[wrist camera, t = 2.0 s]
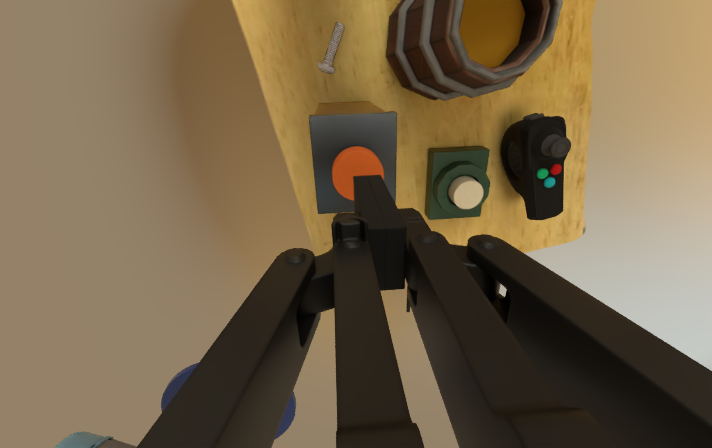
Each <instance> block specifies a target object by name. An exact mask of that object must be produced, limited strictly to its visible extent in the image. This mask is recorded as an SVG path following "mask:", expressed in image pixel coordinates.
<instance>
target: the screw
mask: <svg viewBox="0 0 712 448" xmlns="http://www.w3.org/2000/svg"><path fill="white" fill-rule="evenodd" d="M335 26H336V27H335V28H334V30H333V31H334V32H333V35H332V37H331V38H332V39H331V40H330V41H331V42H330V44H329V45H328V46H329V47H328V50H327V53H326V55H325V56H326V57H325V58H324V59H325V60H324V61H323V63H321V62H318V64H317V66H318V68H319V69H320V70H321V71H325V72H326V73H328V74H333V73H334V71H335V69H334V68H332V67H331V66H332V63H333V62H332V61H333V59H334V58H335V57H334V56H335V55H336V54H335V53H336V50H337V48H338V45H339V44H338V43H339V42H340V40H341V39H340V38H341V37H342V36H341V35H342V33H343V30H344V28H345V27H344V25H343V24H341V23H339V22H337V23H336V25H335Z"/></svg>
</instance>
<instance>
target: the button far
mask: <svg viewBox="0 0 712 448" xmlns="http://www.w3.org/2000/svg"><path fill="white" fill-rule="evenodd" d="M448 195H449V198H450V199H451V200H452V201H453V202H454V203H455V204H456V205H457V206H458V207H459V208H461V209H471V208H473V207H475V206H476V205H478V204H479V203H480V201H481V200H482V198H483V188H482V186H481V184H480V183H478V182H477V181H476V180H474V179H473V178H471V177H469V176H461V177H458V178H456V179H455V180H454V181H453V182H452V183H451V184H450V186H449V189H448Z"/></svg>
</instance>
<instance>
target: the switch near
mask: <svg viewBox="0 0 712 448" xmlns="http://www.w3.org/2000/svg"><path fill="white" fill-rule="evenodd" d="M309 124H310V134H311V145H312V156H313V166H314V177H315V187H316V198H317V209H318V214H325V213H341V212H355V210H354V200H350V199H347V198H345V197H343V196H342V195H341V194H340V193H339V192H338V191H337V190H336V188H335V186H334V184H333V179H332V166H333V163H334V160H335V159H336V157H337V156H338V154H340V153H341V152H342V151H343V150H345V149H347V148H349V147H354V146H360V147H365V148H367V149H369V150H371V151H372V152H373V153H374V154H375V155H376V156H377V157H378V159H379V161H380V162H381V164H382V167H383V171H384V179H383V181H384V183H385V184H386V186H387V188H388V190H389V192H390V194H391V196H392V198H393V200H394V202H395V203H396V148H397V113H396V112H394V111H391V112H385V111H383V110H382V109H380V108H379V107H377V106H376V105H374V104H372V103H371V102H369V101H364V102H341V103H319V104H318V107H317V110H316V112H315V115H310V116H309Z"/></svg>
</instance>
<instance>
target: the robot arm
mask: <svg viewBox="0 0 712 448" xmlns="http://www.w3.org/2000/svg"><path fill="white" fill-rule="evenodd" d="M353 185H354V210H355V213H338V214H337V215H336V216H335V217H334V218H333V222H332V224H331V225H332V238H333V247H332V249H331V250H330V251H328V252H327V253H325V254H322V255H319V256H314V254H313V252H312V251H310V250H308V249H302V248H293V249H289V250H287V251H285V252H282V253H281V254H280V255H279V256H277V258H276V259H275V260H274V262H273V263H272V264H271V266H270V267H269V268H268V270H267V271H266V273H265V274H264V275H263V277H262V278H261V279H260V281H259V282H258V283H257V285H256V286H255V288H254V289H253V290H252V292H251V293H250V295H249V296H248V297H247V298H246V300H245V301H244V303H243V304H242V305H241V307H240V308H239V309H238V311H237V312H236V313H235V315H234V316H233V318H232V319H231V320H230V322H229V323H228V324H227V326H226V327H225V329H224V330H223V331H222V332H221V334H220V335H219V337H218V338H217V339H216V341H215V342H214V343H213V345H212V346H211V347H210V349H209V350H208V351H207V353H206V354H205V356H204V357H203V358H202V360H201V361H200V362H199V364H198V365H197V366H196V368H195V369H194V370H193V372H192V373H191V374H190V376H189V377H188V379H187V380H186V381H185V383H184V384H183V385H182V387H181V388H180V389H179V391H178V392H177V393H176V395H175V396H174V398H173V399H172V400H171V402H170V403H169V404H168V406H167V407H166V408H165V410H164V411H163V412H162V414H161V415H160V417H159V418H158V419H157V421H156V422H155V423H154V425H153V426H152V427H151V429H150V430H149V432H148V433H147V434H146V436H145V437H144V438H143V440H142V441H141V442H140V444H139V445H138V446H137V447H136V446H133V445H130V444H126V443H123V442H120V441H117V440H114V439H113V437H111V436H107V437H103V436H100V435H96V434H92V433H88V432H77V433H74V434H71V435H69V436H68V437H66V438H65V439H63V440H62V441H61V442H60V443H59V444H57V445H56V446H55V447H54V448H271V447H272V445H273V442H274V439H275V437H276V434H277V431H278V429H279V426H280V423H281V421H282V418H283V415H284V413H285V410H286V408H287V405H288V402H289V400H290V397H291V394H292V392H293V389H294V386H295V384H296V381H297V378H298V376H299V373H300V371H301V368H302V365H303V362H304V360H305V357H306V355H307V352H308V349H309V347H310V344H311V341H312V339H313V336H314V334H315V331H316V328H317V326H318V323H319V320H320V315H321V313H320V312H323V311H326V310H329V309H332V308H335V344H336V345H335V348H336V387H337V431H336V448H424V445H423V441H422V437H421V434H420V431H419V428H418V426H417V424H416V423H412V420H411V418H410V414H409V410H408V406H407V402H406V398H405V394H404V390H403V385H402V381H401V377H400V372H399V368H398V364H397V360H396V355H395V351H394V347H393V343H392V339H391V334H390V330H389V326H388V322H387V318H386V313H385V309H384V305H383V301H382V296H381V292H380V291H381V290H395V289H404V288H405V279H406V281H407V283H408V286H407V312H409V311H410V307H411V308H412V311H413V314H414V317H415V320H416V323H417V326H418V329H419V332H420V335H421V338H422V340H423V343H424V346H425V349H426V352H427V355H428V358H429V361H430V363H431V367H432V369H433V372H434V375H435V378H436V381H437V384H438V387H439V390H440V393H441V396H442V399H443V401H444V404H445V407H446V410H447V413H448V416H449V419H450V422H451V424H452V428H453V430H454V433H455V436H456V439H457V442H458V445H459V448H712V371H711V370H709V369H707V368H706V367H704V366H702V365H701V364H699V363H698V362H696V361H695V360H693V359H691V358H690V357H688V356H687V355H685V354H683V353H682V352H680V351H679V350H677V349H675V348H674V347H672V346H671V345H669V344H667V343H666V342H664V341H663V340H661V339H659V338H658V337H656V336H654V335H653V334H651V333H650V332H648V331H647V330H645V329H643V328H642V327H640V326H639V325H637V324H636V323H634V322H632V321H631V320H629V319H627V318H626V317H624V316H623V315H621V314H619V313H618V312H616V311H615V310H613V309H612V308H610V307H608V306H607V305H605V304H604V303H602V302H600V301H599V300H597V299H596V298H594V297H593V296H591V295H589V294H588V293H586V292H585V291H583V290H581V289H580V288H578V287H577V286H575V285H573V284H572V283H570V282H569V281H567V280H565V279H564V278H562V277H561V276H559V275H557V274H556V273H554V272H553V271H551V270H549V269H548V268H546V267H545V266H543V265H541V264H540V263H538V262H537V261H535V260H533V259H532V258H530V257H529V256H527V255H526V254H524V253H522V252H521V251H519V250H518V249H516V248H514V247H513V246H511V245H510V244H508V243H506V242H505V241H503V240H501V239H499V238H497V237H493V236H491V235H476V236H473V237H470V238H469V239H468V244H467V246H459V245H452V244H449V243H448V241H447V240H446V238H445V237H444V236H443V235H442V234H440V233H438V232H435V231H431V229H430V228H429V226H428V225H427V223H426V222H425V220H424V219H423V218H422V216H421V214H420V212H418V211H416V210H415V209H413V208H406V209H398V208H397V206H396V204H395V202H394V200H393V198H392V196H391V194H390V192H389V190H388V188H387V186H386V184H385V183H384V181H383V179H382V177H381V175H366V176H353ZM500 284H502V285H503V286H504V287H505V288H506V289H507V291H506V296H505V297H503V296H502V295H501V294H499V289H500Z"/></svg>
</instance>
